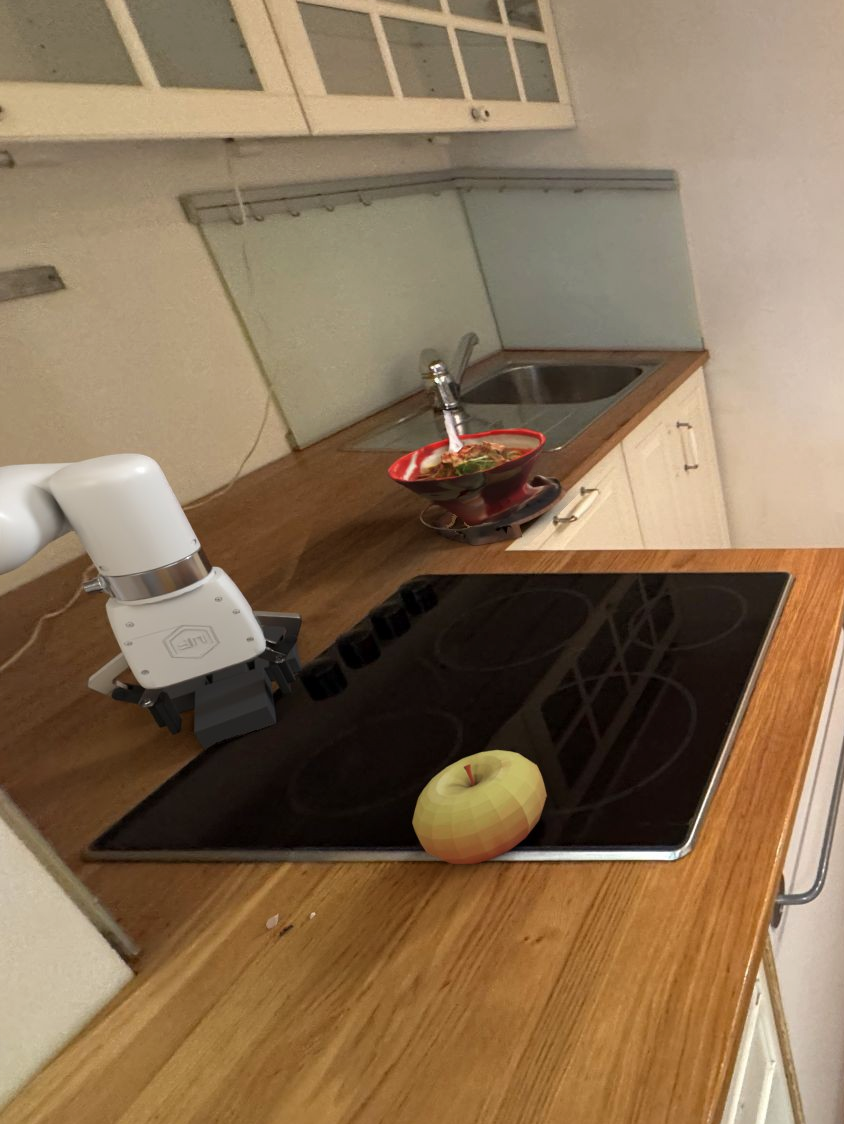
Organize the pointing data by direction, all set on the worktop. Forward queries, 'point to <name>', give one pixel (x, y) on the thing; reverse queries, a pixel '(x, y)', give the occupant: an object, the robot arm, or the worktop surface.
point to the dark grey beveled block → (233, 704)
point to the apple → (479, 807)
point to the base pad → (185, 691)
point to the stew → (480, 481)
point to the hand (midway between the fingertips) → (234, 707)
